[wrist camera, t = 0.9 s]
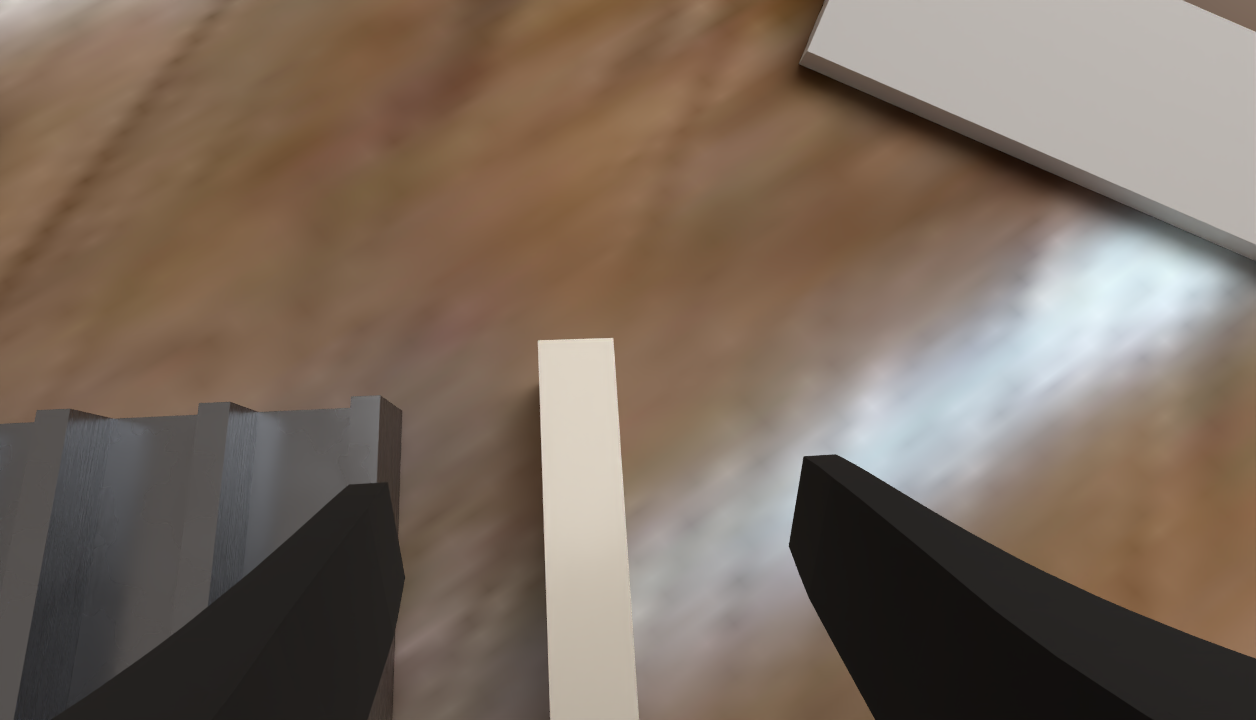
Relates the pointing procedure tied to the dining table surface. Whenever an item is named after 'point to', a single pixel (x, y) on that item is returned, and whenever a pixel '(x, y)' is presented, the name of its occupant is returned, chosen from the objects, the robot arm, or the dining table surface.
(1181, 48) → the decorative molding
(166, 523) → the grey grooved block
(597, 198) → the dining table surface
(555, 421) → the clay strip
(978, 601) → the robot arm
